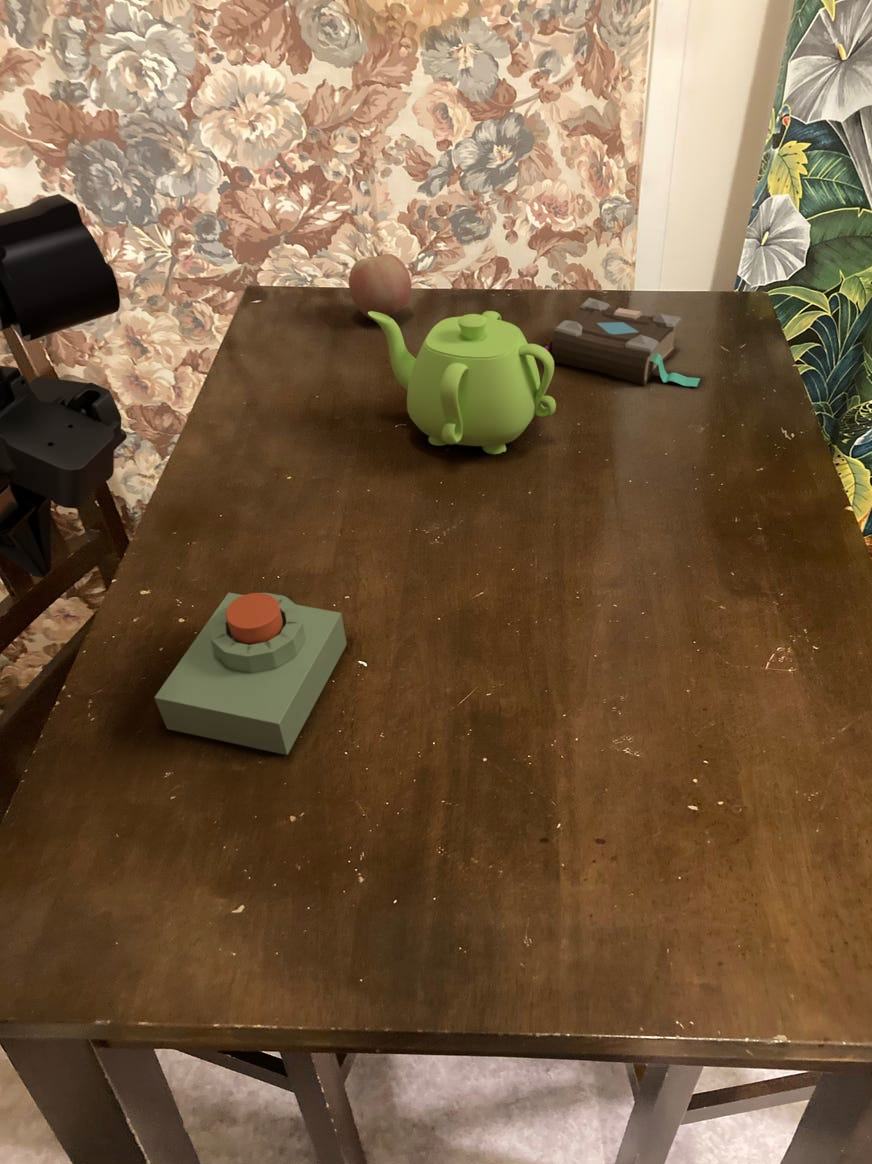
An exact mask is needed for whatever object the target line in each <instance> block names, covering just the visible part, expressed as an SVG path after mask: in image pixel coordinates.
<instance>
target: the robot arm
mask: <svg viewBox="0 0 872 1164" xmlns="http://www.w3.org/2000/svg"><path fill="white" fill-rule="evenodd" d="M120 307H121V297H120V290H119V287H118V282H117V278H116V276H115V273H114V270H113V268H112V266H111V265H110V264H109V263H107V261H106V259H105V257H104V255H103V253H102V251H101V249H100V247H99V244H98V243H97V241H96V239H95V238H94V236H93V235H92V233H91V231H90V230H89V229H88V227H87V226H86V224H84V222H83V219H82V216H81V213H80V210H79V207H78V205H77V203H75V202H74V201H72V200H70V199H68V198H67V197H65V196H63V195H62V194H60V193H57V194H54V195H53V194H52V195H49V196H45V197H41V198H39V199H37V200H36V201H34V202H32V203H30V204H28V205H26V206H22V207H19V208H15V209H11V210H8V211H7V210H6V211H3V212H0V331H3V330H7V329H10V328H11V327H12V329H13V330H14V331H15V333H16V334H17V335H18V336H19V338H21V339H22V340H23V341H25V342H26V343H27V342H31V341H35V340H39V339H41V338H43V337H46V336H50V335H52V334H53V335H54V334H56V333H59V332H61V331H64V330H67V329H71V328H73V327H76V326H79V325H83V324H85V323H88V322H93V321H95V320H98V319H100V318H104V317H107V316H109V315H112V314H116V313H117V312H119V309H120ZM127 438H128V436H127V433H126V431H125V430H124V429H123V427H122V415H121V412H120V410H119V408H118V406H117V403H116V401H115V399H114V397H113V394H112V393H111V391H110V390H109V389H108V388H105V387H103V386H101V385H99V384H96V383H94V382H84V381H75V380H68V379H61V378H60V379H59V378H52V377H45V376H39V375H38V376H37V377H35V378H34V379H32V380H31V381H30V382H29V381H28V379H27V377H26V376H25V375H23V374H22V373H21V371H20V368H19V367H14V366H6V365H1V364H0V554H2V555H3V556H4V557H6V558H7V559H8V560H9V561H11V562H12V563H14V564H15V565H17V566H18V567H19V568H21V569H22V570H24V571H25V572H26V573H28V574H29V575H30V576H31V577H36V578H40V579H45V578H46V577H47V576H48V574H49V573H51V572H52V534H51V533H52V531H51V527H52V526H51V514H52V502H53V504H55V505H57V506H59V507H62V508H66V509H77V508H80V507H83V506H84V505H85V504H87V503H88V502H89V501H90V500H91V497H92V496H93V494H94V493H95V492H96V491H97V490H98V489H99V488H100V487H101V486H102V485H103V484H104V483H105V482H107V481H110V479H112V477H113V475H114V467H115V466H114V465H115V464H114V463H115V462H114V460H115V458H114V457H115V450H116V449H118V448H119V447H120V446H121V445H122V444H123V443H124V442H125V441H126V439H127Z"/></svg>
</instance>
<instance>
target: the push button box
mask: <svg viewBox="0 0 872 1164" xmlns="http://www.w3.org/2000/svg"><path fill="white" fill-rule="evenodd" d="M263 593H264V594H268V595H270V596H272V597H274V598H275V599H276V600H277V602H278V604H279V607H280V612H281V616H282V620H283V626H282V629H281V631H280V632H279V634H278V635H277V636H275V637H274V638H272V639H271V640H269V641H267V642H263V643H258V644H253V645H248V644H243V643H240V642H238V641H236V640H235V639H234V638H233V637H232V635H231V633H230V629H229V626H228V623H227V619H226V610H227V608H228V606H229V605H230V604H231V603H232V602H233V601H234V600H235V599H237V598H239V597H241V596H243V595H244V594H241V593H235V592H227V594H226V595H225V597H224V598H223V600H222V601H221V602H220V604H219V605H218V606H217V608H216V610H215V611H214V612H213V614H212V615H211V617H210V618H209V619H208V621H207V622H206V623H205V625H204V627H203V628H202V629H201V630H200V632H199V633H198V635H197V636H196V638H195V639H194V641H193V642H192V643H191V645H190V646H189V647H188V649H187V650H186V652H185V653H184V655H183V656H182V657H181V659H180V660H179V662H178V663H177V665H175V667H174V669H173V670H172V672H171V673H170V675H169V676H168V677H167V678H166V680H165V681H164V683H163V684H162V686H161V687H160V689H159V690H158V691H157V693H156V694H155V695H154V697H153V698H154V701H155V703H156V706H157V708H158V711H159V713H160V715H161V718H162V720H163V723H164V725H165V727H166V729H167V730H170V731H175V732H179V733H184V734H189V735H192V736H198V737H202V738H208V739H212V740H217V741H221V742H225V743H231V744H234V745H239V746H244V747H248V748H253V749H256V750H262V751H265V752H266V751H267V752H271V753H276V754H279V755H280V754H281V755H286V756H287V755H289V753H290V752H291V750H292V748H293V745H294V744H295V742H296V740H297V738H298V736H299V734H300V733H301V731H302V729H303V727H304V725H305V723H306V721H307V720H308V718H309V716H310V714H311V712H312V710H313V708H314V707H315V704H316V703H317V701H318V699H319V697H320V695H321V693H322V691H323V689H324V688H325V686H326V684H327V682H328V680H329V679H330V677H331V675H332V674H333V671H334V669H335V667H336V666H337V664H338V662H339V660H340V658H341V656H342V655H343V652H344V651H345V649H346V647H347V637H346V631H345V625H344V621H343V614H342V612H339V611H333V610H328V609H323V608H318V607H312V606H307V605H300V604H296V603H295V602H294V601H292V600H291V599H290V598H289V597H287V596H285V595H282V594H275V593H271V592H263Z"/></svg>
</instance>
